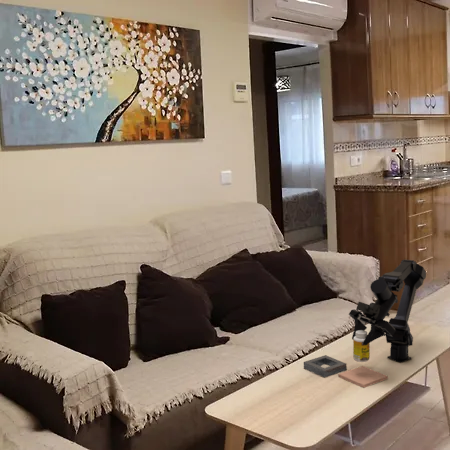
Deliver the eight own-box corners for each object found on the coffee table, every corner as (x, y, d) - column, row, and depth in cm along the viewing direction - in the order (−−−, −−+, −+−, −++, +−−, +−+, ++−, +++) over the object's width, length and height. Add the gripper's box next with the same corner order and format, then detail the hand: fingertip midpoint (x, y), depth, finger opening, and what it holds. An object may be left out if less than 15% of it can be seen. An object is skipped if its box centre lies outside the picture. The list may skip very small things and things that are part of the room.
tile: (362, 368, 217) (362, 365, 217) (387, 378, 207) (387, 376, 207) (338, 376, 211) (338, 374, 210) (363, 387, 201) (363, 384, 201)
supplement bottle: (361, 364, 205) (361, 335, 203) (350, 359, 209) (349, 331, 208) (373, 360, 208) (372, 332, 206) (361, 355, 212) (361, 328, 211)
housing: (325, 361, 225) (325, 355, 225) (346, 370, 216) (346, 363, 216) (303, 368, 219) (303, 361, 219) (324, 377, 210) (324, 371, 210)
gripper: (352, 287, 215) (328, 322, 212) (388, 299, 198) (363, 336, 195) (369, 304, 220) (346, 339, 216) (406, 317, 203) (381, 354, 200)
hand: (358, 341), depth 207 cm, fingers closed on supplement bottle, 5 cm apart
